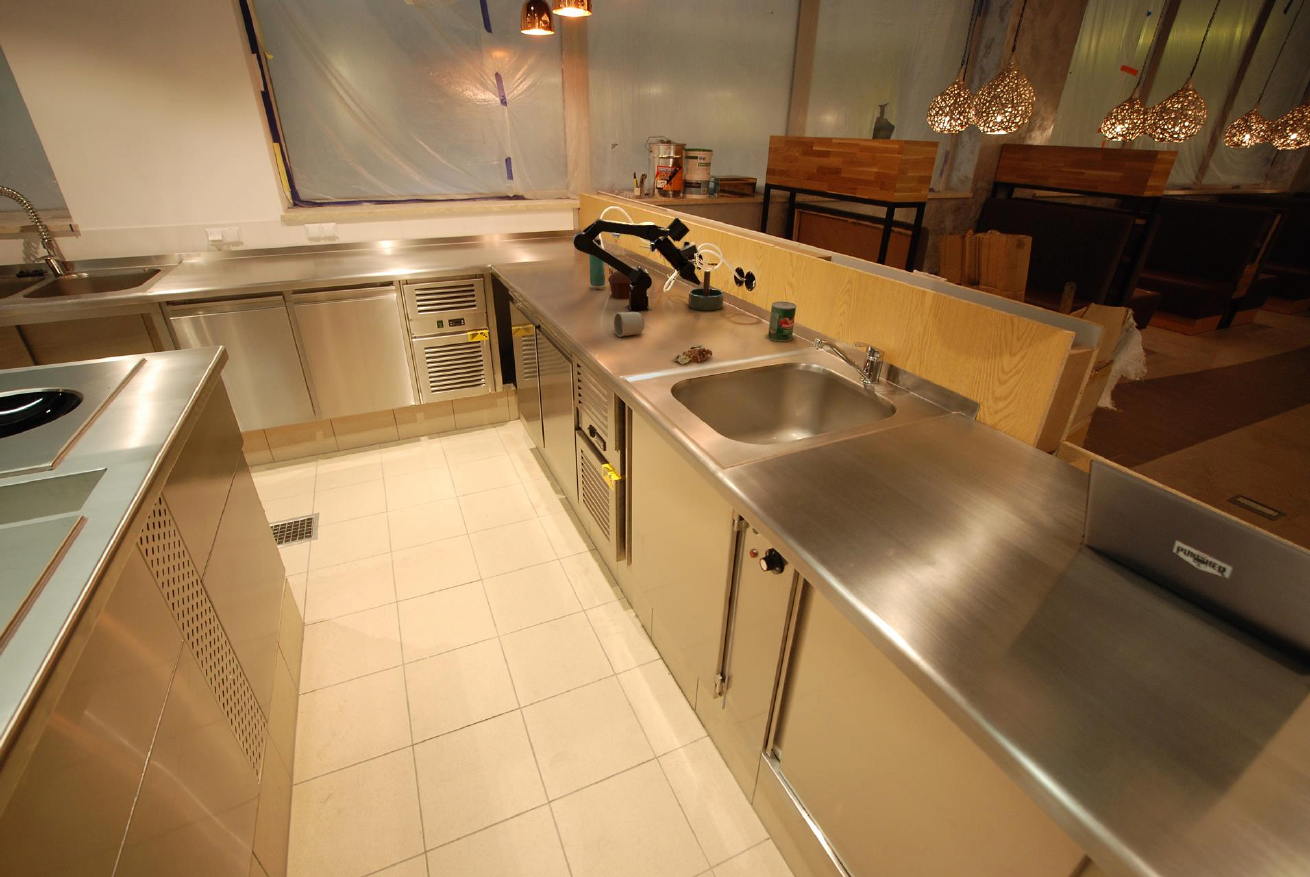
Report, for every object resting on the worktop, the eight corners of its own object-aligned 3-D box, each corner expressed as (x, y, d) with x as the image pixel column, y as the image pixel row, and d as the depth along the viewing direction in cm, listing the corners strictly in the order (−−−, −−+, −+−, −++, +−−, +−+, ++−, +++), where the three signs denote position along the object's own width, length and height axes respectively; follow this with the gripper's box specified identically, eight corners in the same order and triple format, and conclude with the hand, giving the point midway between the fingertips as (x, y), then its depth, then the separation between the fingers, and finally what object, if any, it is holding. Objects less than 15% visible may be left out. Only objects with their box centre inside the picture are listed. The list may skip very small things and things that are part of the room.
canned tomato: (787, 343, 185) (791, 309, 180) (764, 338, 188) (767, 305, 183) (795, 336, 191) (800, 303, 185) (773, 332, 194) (777, 300, 189)
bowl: (695, 312, 214) (696, 297, 211) (683, 303, 225) (684, 289, 222) (728, 310, 217) (729, 295, 215) (714, 301, 228) (715, 287, 226)
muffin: (632, 291, 239) (632, 267, 234) (640, 298, 230) (640, 273, 225) (605, 293, 236) (604, 268, 231) (611, 300, 227) (611, 274, 222)
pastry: (670, 360, 169) (670, 348, 168) (697, 351, 177) (698, 340, 175) (687, 367, 165) (688, 355, 163) (715, 357, 172) (715, 346, 171)
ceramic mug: (645, 336, 189) (645, 313, 185) (623, 339, 185) (622, 316, 181) (631, 327, 197) (630, 305, 193) (609, 330, 193) (608, 308, 190)
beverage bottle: (603, 290, 240) (601, 240, 231) (587, 289, 241) (585, 239, 232) (607, 286, 246) (606, 238, 236) (592, 285, 247) (590, 237, 237)
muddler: (710, 306, 218) (712, 272, 212) (698, 306, 219) (700, 271, 213) (711, 303, 222) (713, 269, 216) (700, 303, 223) (702, 269, 217)
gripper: (690, 239, 199) (719, 271, 206) (680, 230, 215) (707, 260, 222) (667, 262, 202) (696, 293, 208) (659, 252, 218) (686, 281, 225)
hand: (697, 281), depth 216 cm, fingers open, 9 cm apart
